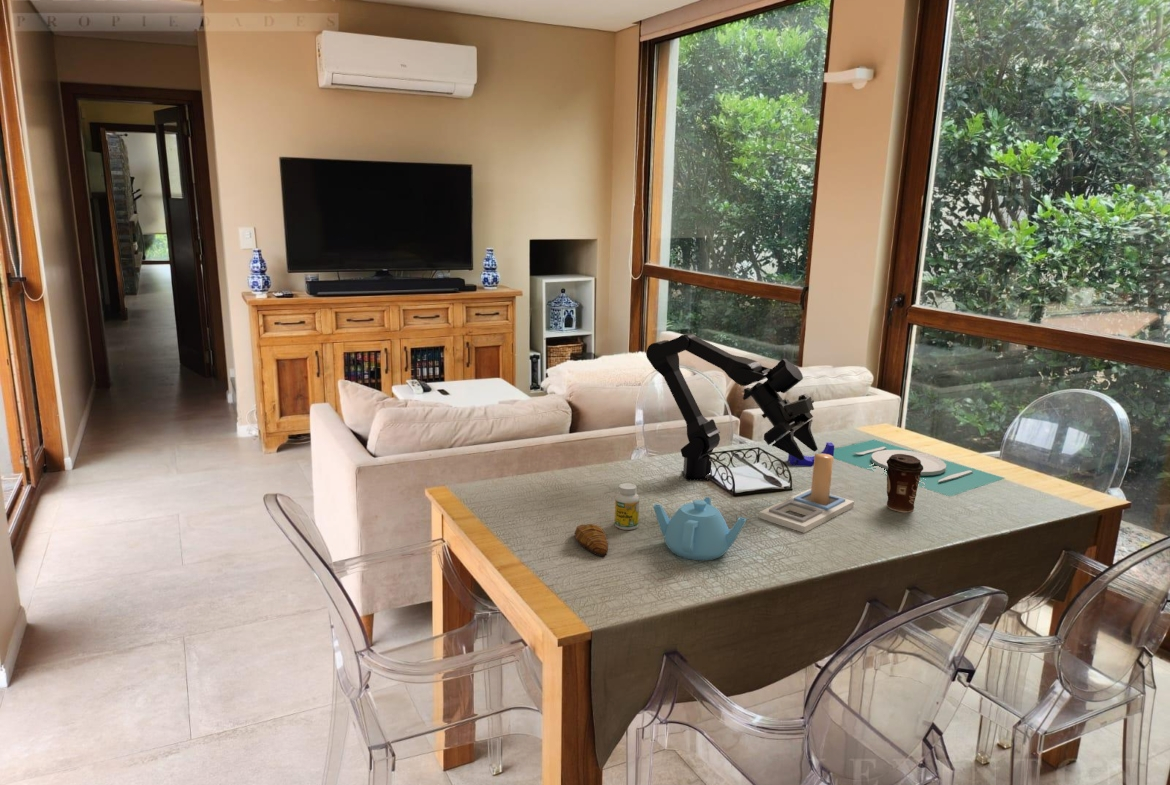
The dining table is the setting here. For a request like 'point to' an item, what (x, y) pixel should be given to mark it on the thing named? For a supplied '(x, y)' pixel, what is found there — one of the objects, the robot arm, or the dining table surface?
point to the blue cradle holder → (810, 460)
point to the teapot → (697, 530)
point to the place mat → (935, 471)
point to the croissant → (592, 539)
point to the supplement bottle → (627, 507)
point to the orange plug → (821, 478)
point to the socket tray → (805, 511)
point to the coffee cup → (902, 482)
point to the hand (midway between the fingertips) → (809, 454)
